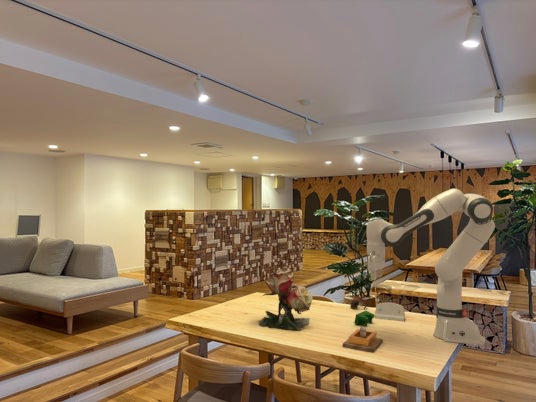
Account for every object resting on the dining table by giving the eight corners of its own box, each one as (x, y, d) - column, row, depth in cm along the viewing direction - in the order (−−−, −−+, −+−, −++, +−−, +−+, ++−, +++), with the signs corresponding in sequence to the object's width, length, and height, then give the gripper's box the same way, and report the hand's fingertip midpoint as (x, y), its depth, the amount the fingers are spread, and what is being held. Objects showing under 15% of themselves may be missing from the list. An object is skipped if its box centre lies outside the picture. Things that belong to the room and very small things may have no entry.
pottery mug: (351, 306, 255) (357, 295, 255) (363, 315, 250) (370, 303, 250) (345, 305, 245) (352, 294, 245) (358, 314, 240) (365, 302, 240)
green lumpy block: (364, 334, 210) (364, 321, 206) (354, 329, 214) (354, 316, 210) (375, 321, 218) (375, 308, 214) (365, 317, 222) (365, 304, 218)
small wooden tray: (376, 338, 185) (376, 332, 185) (368, 346, 173) (368, 339, 174) (357, 335, 189) (357, 329, 189) (348, 343, 178) (348, 336, 178)
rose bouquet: (309, 332, 199) (309, 272, 200) (255, 327, 208) (255, 270, 209) (318, 319, 223) (318, 266, 224) (269, 314, 232) (270, 263, 233)
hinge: (373, 318, 225) (374, 300, 228) (375, 319, 229) (375, 301, 232) (404, 321, 218) (405, 303, 222) (405, 322, 223) (405, 304, 226)
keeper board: (382, 342, 184) (382, 324, 184) (373, 352, 170) (373, 333, 171) (353, 337, 191) (353, 320, 192) (342, 347, 177) (342, 328, 178)
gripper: (376, 252, 188) (377, 282, 187) (386, 249, 206) (387, 275, 205) (363, 252, 191) (364, 281, 191) (374, 248, 209) (375, 275, 208)
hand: (376, 278), depth 198 cm, fingers open, 8 cm apart
